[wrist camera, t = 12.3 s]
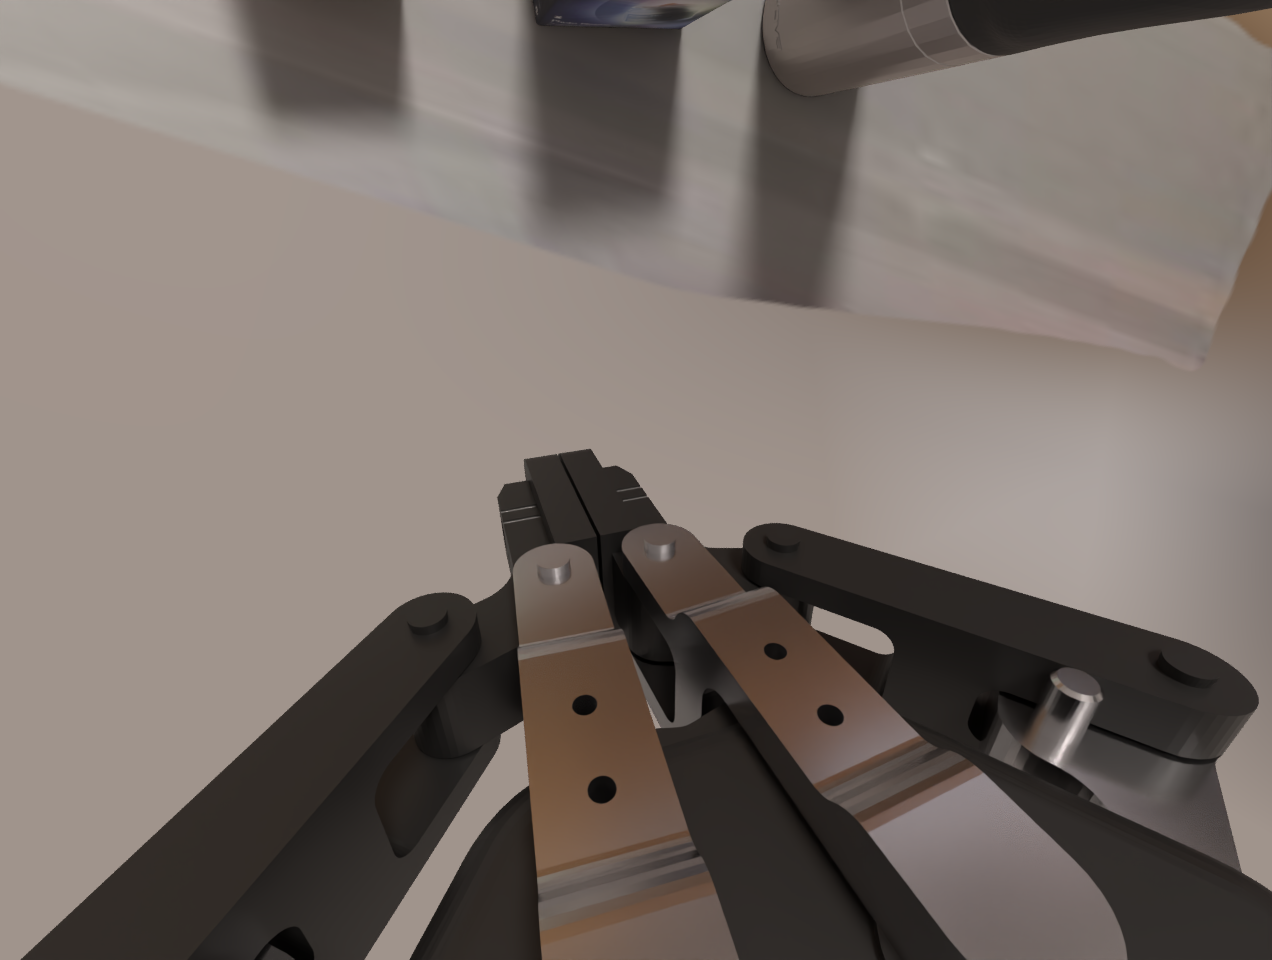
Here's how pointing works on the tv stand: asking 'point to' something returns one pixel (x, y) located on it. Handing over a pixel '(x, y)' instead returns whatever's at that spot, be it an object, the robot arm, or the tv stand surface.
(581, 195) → the tv stand surface
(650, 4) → the small box
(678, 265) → the tv stand surface
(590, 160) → the tv stand surface
